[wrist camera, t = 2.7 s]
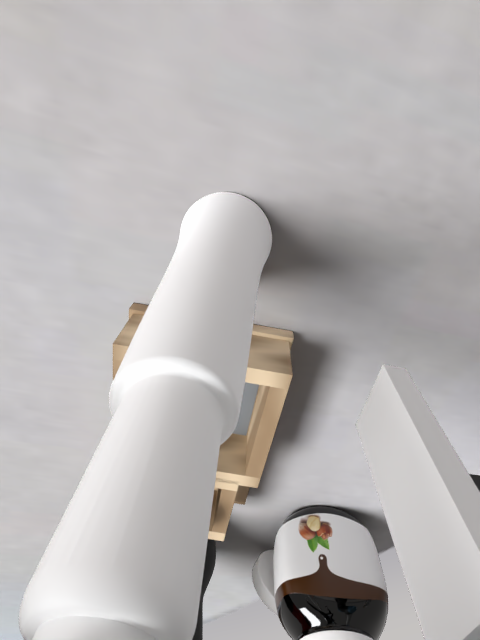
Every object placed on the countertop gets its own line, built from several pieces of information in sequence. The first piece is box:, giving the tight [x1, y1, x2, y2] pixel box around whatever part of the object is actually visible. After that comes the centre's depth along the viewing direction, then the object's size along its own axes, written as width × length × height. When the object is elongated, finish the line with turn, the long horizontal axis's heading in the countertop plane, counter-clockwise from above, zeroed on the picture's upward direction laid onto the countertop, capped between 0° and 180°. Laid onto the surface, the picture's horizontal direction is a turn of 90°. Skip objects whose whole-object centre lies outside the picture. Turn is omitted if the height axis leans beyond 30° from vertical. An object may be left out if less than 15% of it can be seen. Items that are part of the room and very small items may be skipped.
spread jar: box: [252, 506, 388, 640], centre depth 34 cm, size 12×11×12 cm
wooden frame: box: [113, 303, 294, 541], centre depth 29 cm, size 12×20×5 cm, turn 170°
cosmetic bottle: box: [19, 192, 272, 640], centre depth 14 cm, size 6×6×22 cm
